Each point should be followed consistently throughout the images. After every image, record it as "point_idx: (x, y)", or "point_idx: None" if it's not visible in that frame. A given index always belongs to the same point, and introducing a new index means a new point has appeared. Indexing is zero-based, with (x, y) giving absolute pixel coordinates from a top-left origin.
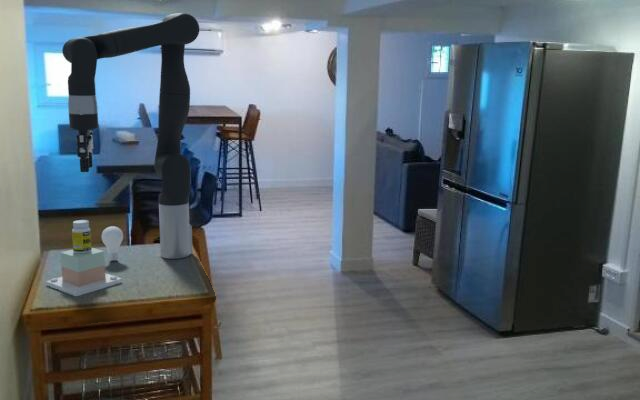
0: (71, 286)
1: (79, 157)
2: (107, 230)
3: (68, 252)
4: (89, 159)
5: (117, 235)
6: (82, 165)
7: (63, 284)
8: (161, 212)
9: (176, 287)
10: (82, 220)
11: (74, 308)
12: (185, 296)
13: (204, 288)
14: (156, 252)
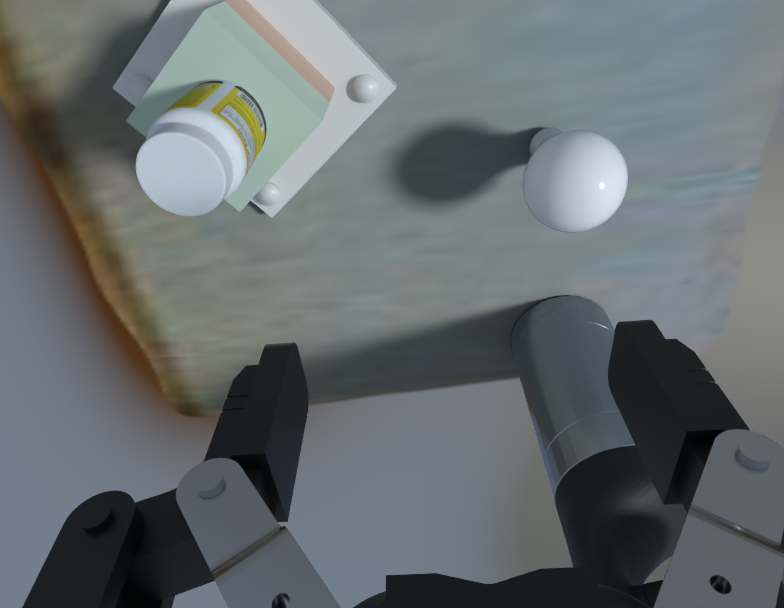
0: (170, 55)
1: (189, 480)
2: (556, 181)
3: (205, 55)
4: (643, 433)
5: (535, 215)
6: (229, 416)
7: (191, 13)
8: (579, 426)
9: (235, 354)
10: (209, 179)
11: (10, 105)
12: (167, 375)
13: None
14: (618, 277)
